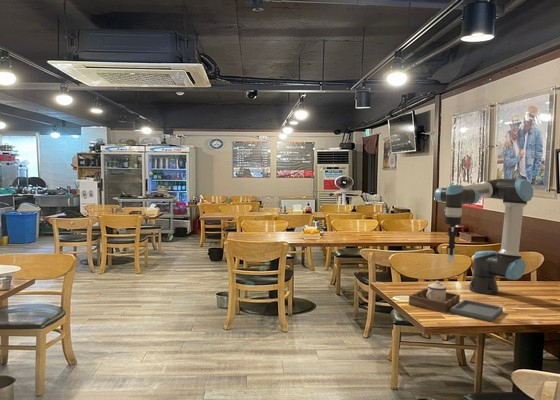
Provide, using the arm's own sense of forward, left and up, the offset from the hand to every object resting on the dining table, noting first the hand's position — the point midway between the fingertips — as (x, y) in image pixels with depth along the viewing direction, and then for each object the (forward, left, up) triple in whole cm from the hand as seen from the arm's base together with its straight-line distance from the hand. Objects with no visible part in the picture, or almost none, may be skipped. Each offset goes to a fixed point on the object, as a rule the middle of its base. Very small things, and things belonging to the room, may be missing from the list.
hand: (450, 259), depth 210 cm
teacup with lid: (-1, -7, -24) cm, 25 cm away
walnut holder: (-1, -7, -24) cm, 25 cm away
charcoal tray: (-2, +13, -24) cm, 27 cm away
